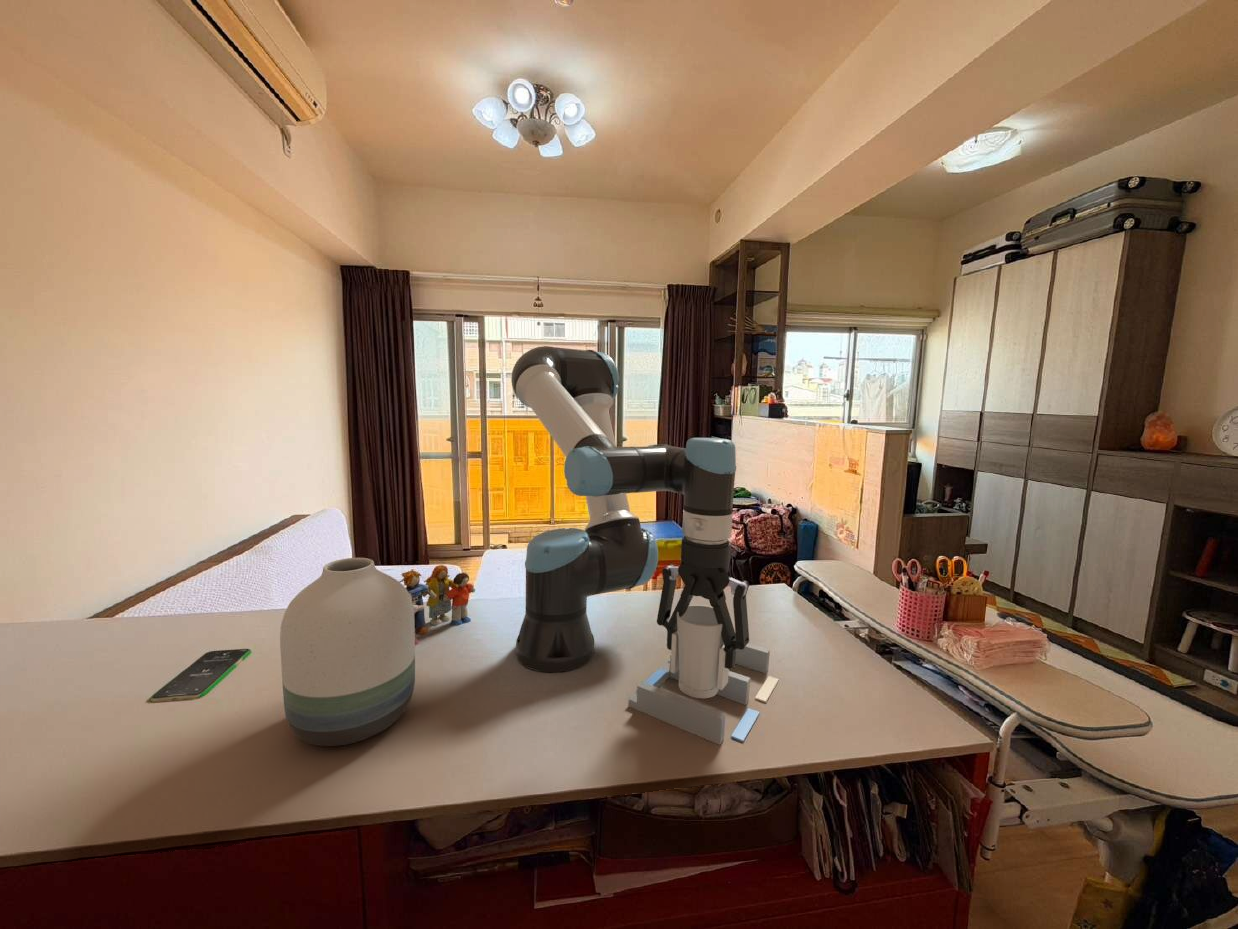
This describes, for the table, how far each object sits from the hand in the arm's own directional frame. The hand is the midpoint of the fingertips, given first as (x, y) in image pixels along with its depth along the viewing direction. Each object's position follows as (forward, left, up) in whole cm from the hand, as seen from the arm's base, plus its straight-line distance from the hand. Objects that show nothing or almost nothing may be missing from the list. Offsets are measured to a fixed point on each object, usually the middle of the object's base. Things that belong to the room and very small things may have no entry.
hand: (698, 676), depth 77 cm
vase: (-41, -33, -5) cm, 53 cm away
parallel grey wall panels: (-1, +6, -5) cm, 8 cm away
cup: (0, 0, -2) cm, 2 cm away
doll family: (-58, -9, -5) cm, 59 cm away
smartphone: (-73, -41, -6) cm, 84 cm away
